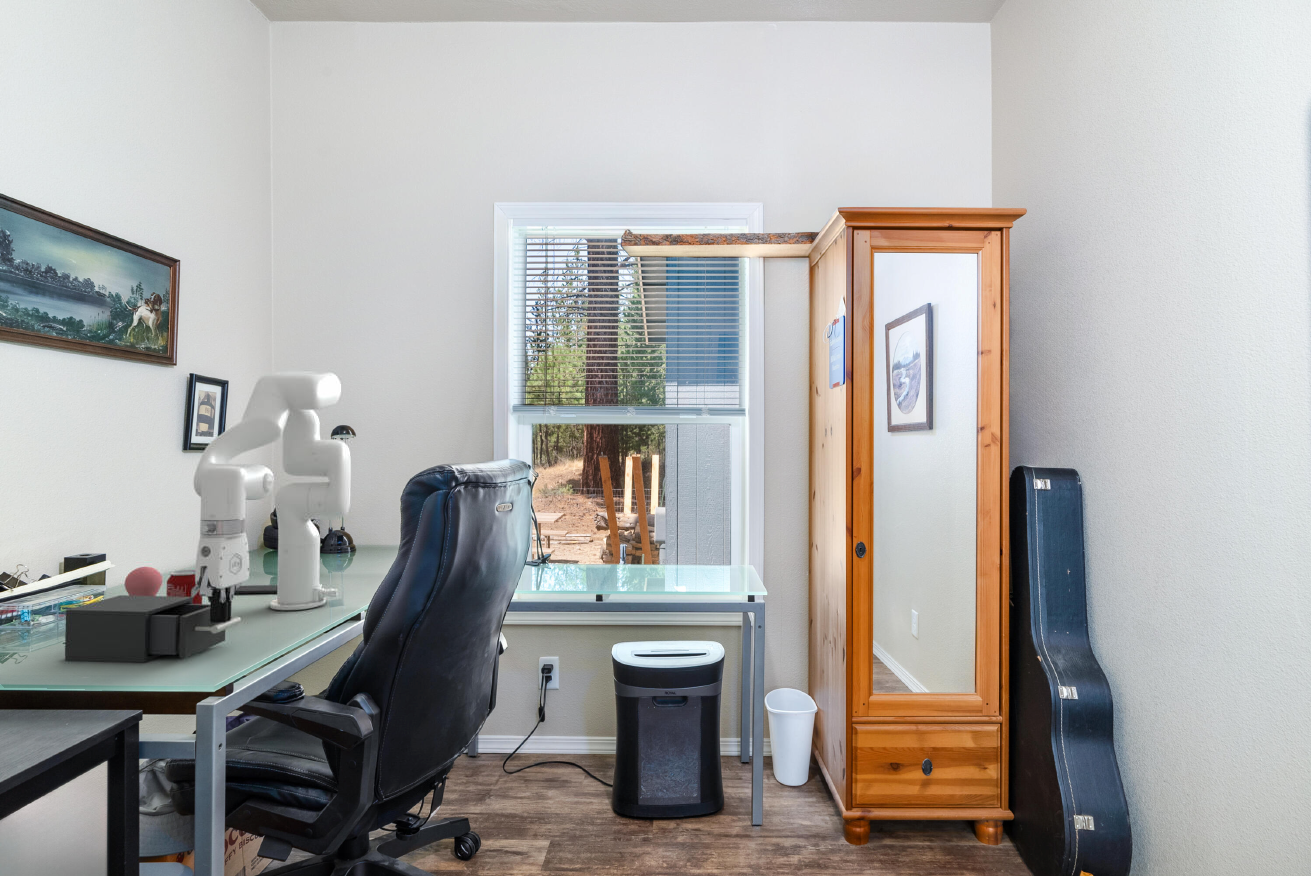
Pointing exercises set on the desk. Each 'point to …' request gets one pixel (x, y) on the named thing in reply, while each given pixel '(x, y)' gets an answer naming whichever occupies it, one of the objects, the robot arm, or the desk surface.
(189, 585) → the soda can
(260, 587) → the phone
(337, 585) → the desk surface
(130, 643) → the cabinet
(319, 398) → the robot arm
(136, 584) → the light bulb
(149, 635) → the drawer
